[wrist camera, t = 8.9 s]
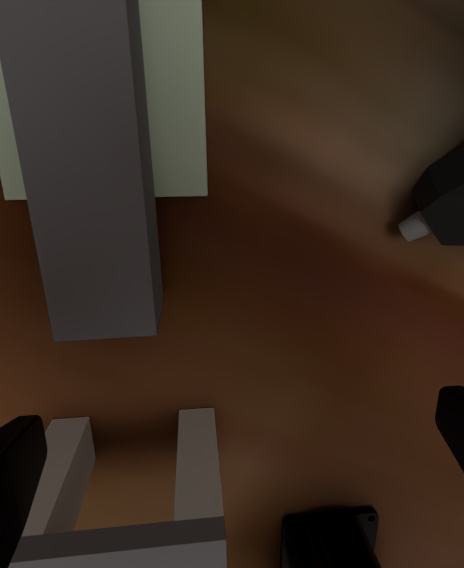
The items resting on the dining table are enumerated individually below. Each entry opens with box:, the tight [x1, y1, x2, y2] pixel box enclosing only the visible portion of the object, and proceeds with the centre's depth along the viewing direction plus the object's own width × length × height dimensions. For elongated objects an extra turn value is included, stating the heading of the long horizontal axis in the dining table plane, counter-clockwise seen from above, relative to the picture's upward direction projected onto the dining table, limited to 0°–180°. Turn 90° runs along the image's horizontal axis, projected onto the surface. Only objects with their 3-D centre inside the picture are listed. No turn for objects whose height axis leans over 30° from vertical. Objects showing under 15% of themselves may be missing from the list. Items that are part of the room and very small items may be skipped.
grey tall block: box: [0, 0, 164, 342], centre depth 14 cm, size 15×4×4 cm, turn 1°
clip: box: [8, 407, 227, 568], centre depth 18 cm, size 3×9×8 cm, turn 91°
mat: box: [0, 0, 208, 200], centre depth 16 cm, size 10×9×1 cm
